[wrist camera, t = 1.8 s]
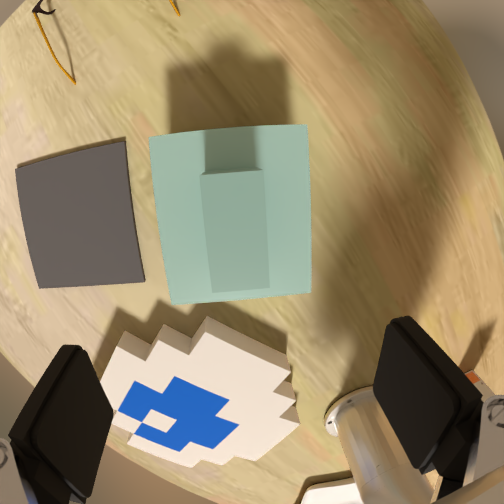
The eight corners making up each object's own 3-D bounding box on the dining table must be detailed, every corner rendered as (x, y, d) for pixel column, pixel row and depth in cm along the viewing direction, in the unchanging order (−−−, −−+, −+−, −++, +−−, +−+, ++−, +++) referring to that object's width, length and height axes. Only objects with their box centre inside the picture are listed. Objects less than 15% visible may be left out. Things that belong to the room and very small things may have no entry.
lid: (304, 125, 23) (326, 117, 18) (308, 287, 28) (327, 320, 22) (151, 137, 23) (129, 133, 17) (173, 300, 27) (161, 335, 22)
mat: (125, 141, 29) (124, 141, 28) (145, 280, 34) (144, 282, 33) (17, 168, 28) (15, 169, 27) (40, 286, 33) (39, 288, 33)
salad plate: (289, 510, 58) (291, 520, 55) (304, 479, 52) (307, 491, 49) (360, 498, 60) (363, 506, 57) (386, 463, 54) (391, 473, 51)
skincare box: (472, 368, 45) (503, 402, 34) (466, 383, 47) (495, 417, 35) (451, 378, 45) (483, 416, 34) (446, 392, 47) (474, 430, 35)
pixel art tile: (230, 478, 43) (82, 422, 37) (230, 462, 47) (89, 406, 41) (336, 390, 37) (141, 296, 31) (328, 372, 41) (149, 281, 34)
